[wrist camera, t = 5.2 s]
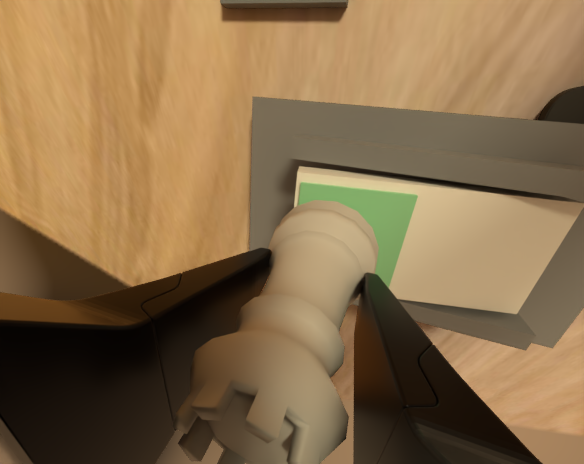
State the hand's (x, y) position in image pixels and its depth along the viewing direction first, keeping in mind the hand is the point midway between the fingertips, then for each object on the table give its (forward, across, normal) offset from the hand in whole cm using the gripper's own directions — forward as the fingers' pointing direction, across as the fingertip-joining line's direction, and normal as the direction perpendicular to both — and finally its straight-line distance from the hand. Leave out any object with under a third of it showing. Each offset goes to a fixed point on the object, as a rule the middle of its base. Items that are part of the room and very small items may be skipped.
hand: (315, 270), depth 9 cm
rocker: (+5, -4, 0) cm, 6 cm away
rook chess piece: (+2, 0, 0) cm, 2 cm away
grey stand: (+9, -4, 0) cm, 10 cm away
